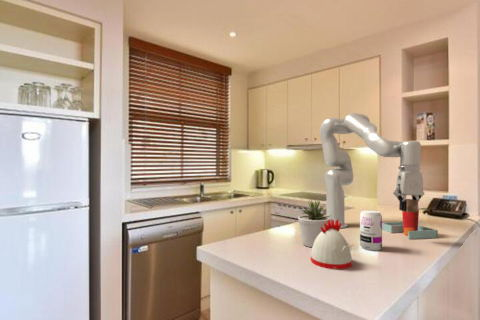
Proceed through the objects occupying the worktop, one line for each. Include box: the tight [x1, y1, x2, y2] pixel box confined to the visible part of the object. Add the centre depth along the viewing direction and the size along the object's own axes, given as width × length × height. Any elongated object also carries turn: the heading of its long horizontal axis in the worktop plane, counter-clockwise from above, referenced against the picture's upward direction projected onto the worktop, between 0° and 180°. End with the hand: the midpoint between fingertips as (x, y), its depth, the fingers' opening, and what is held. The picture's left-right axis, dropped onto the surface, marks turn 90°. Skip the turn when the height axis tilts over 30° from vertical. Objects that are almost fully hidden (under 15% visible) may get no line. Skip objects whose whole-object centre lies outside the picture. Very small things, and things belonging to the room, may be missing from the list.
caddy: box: [382, 221, 439, 240], centre depth 138 cm, size 15×19×4 cm
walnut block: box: [398, 198, 419, 212], centre depth 123 cm, size 5×5×5 cm
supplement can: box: [359, 209, 383, 252], centre depth 114 cm, size 8×8×15 cm
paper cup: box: [401, 206, 421, 237], centre depth 135 cm, size 8×8×14 cm
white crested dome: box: [310, 220, 353, 270], centre depth 99 cm, size 14×14×15 cm
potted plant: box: [297, 198, 331, 248], centre depth 119 cm, size 13×14×20 cm
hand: (408, 209), depth 123 cm, fingers closed on walnut block, 5 cm apart
